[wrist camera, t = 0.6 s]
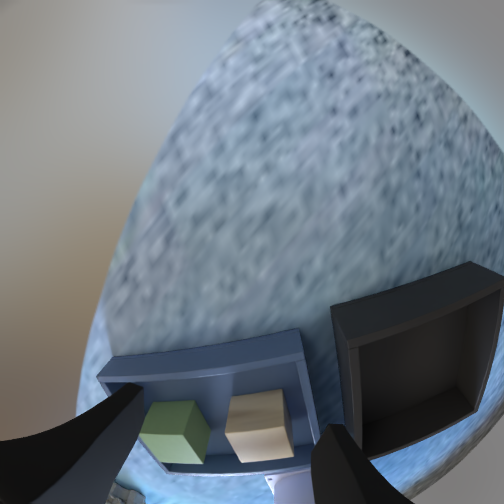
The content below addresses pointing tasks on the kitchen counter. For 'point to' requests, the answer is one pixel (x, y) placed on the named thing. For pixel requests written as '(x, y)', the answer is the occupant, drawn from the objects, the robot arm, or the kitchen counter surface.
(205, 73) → the kitchen counter surface
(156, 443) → the green cube
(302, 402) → the blue box
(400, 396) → the black basket
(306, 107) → the kitchen counter surface
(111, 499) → the egg carton
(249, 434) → the cream cube
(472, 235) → the kitchen counter surface
